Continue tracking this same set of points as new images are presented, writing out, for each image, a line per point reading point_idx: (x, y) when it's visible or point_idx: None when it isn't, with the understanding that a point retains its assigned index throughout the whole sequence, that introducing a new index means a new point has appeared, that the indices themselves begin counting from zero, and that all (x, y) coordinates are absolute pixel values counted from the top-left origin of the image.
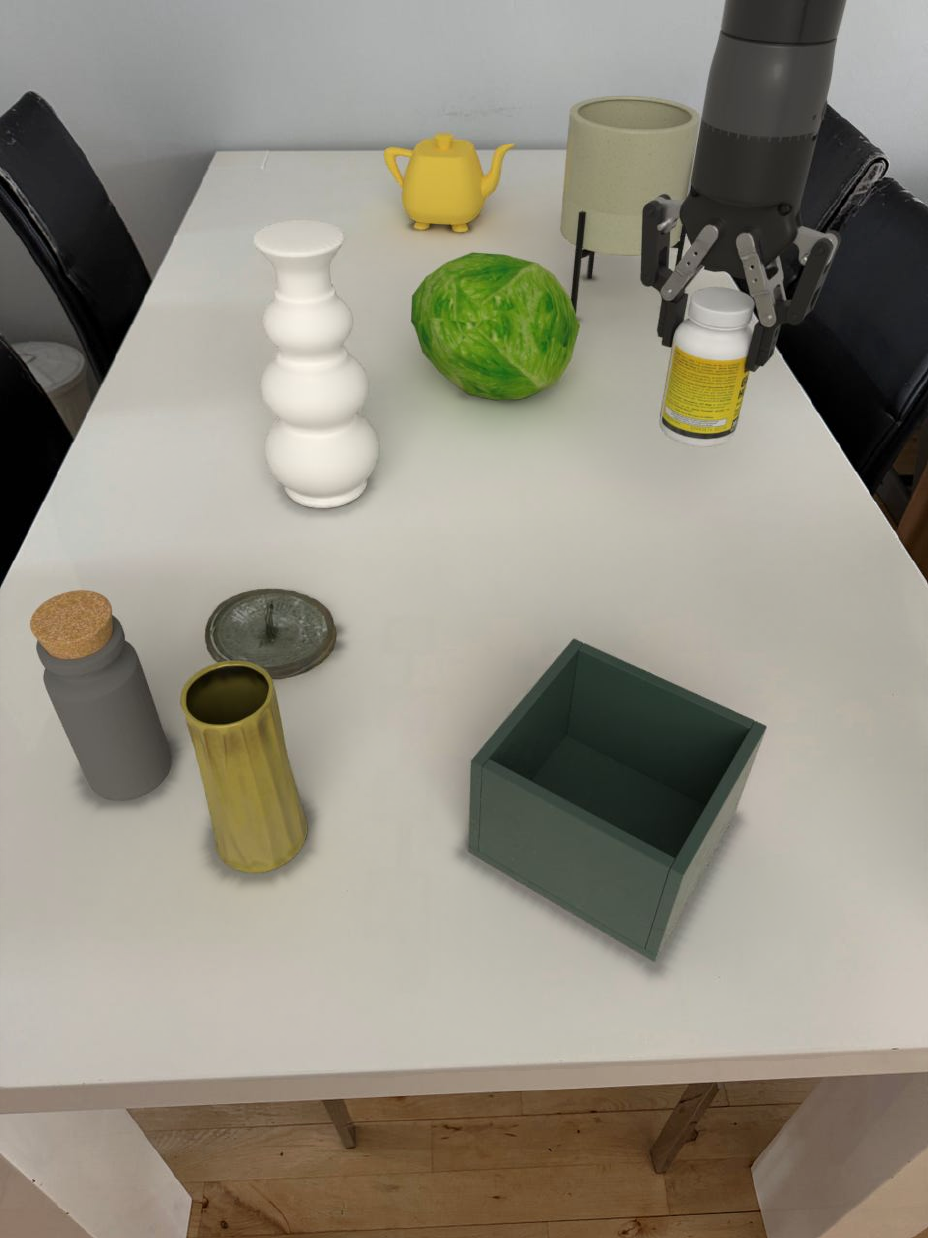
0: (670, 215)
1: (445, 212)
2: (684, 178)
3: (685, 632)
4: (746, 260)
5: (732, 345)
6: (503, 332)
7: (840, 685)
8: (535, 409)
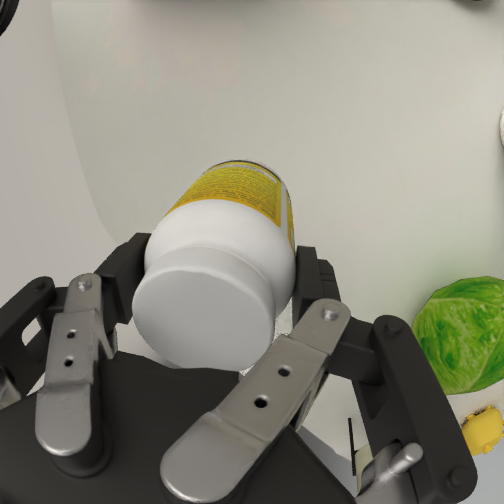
0: (387, 493)
1: (481, 418)
2: (360, 487)
3: (207, 78)
4: (77, 378)
5: (158, 240)
6: (478, 314)
7: (103, 100)
8: (420, 294)
